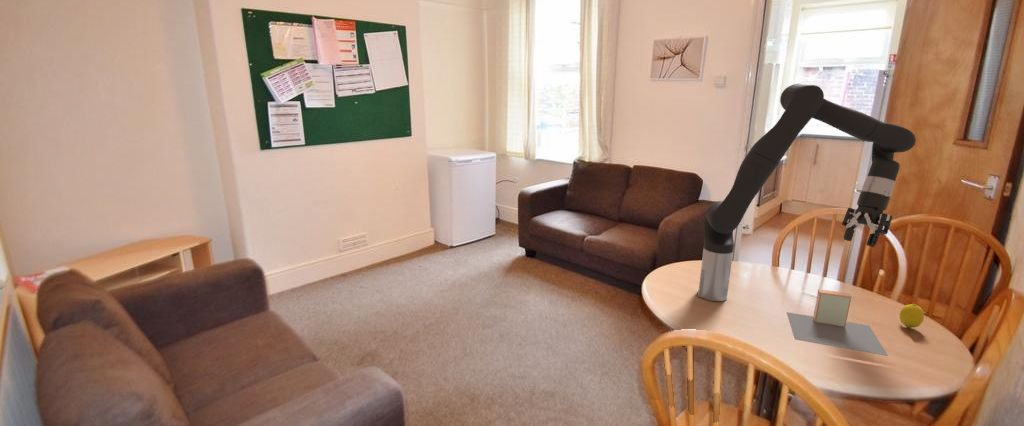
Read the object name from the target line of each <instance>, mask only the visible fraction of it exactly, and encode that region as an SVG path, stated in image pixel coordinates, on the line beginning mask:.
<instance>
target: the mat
mask: <svg viewBox="0 0 1024 426" xmlns="http://www.w3.org/2000/svg"><path fill="white" fill-rule="evenodd" d="M786 314H787V319H788V321H789V325H790V328H791V331H792V334H793V335H792V336H793V337H794V340H797V341H803V342H807V343H813V344H818V345H824V346H831V347H836V348H840V349H841V348H842V349H846V350H853V351H858V352H864V353H871V354H877V355H880V356H886V357H888V356H889V355H888V353H887V352H886V350H885V349H884V347H883V345H882V343H881V342H880V340H879V339H878V337H877V335H876V334H875V332H874V330H873V329H872V328H871V326H870V325H868V324H865V323H864V324H863V323H857V322H856V323H855V322H849V321H846V326H845V327H840V326H834V325H828V324H822V323H816V322H814V320H813V316H812V315H806V314H800V313H793V312H788V311H786Z"/></svg>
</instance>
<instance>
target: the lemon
mask: <svg viewBox="0 0 1024 426" xmlns="http://www.w3.org/2000/svg"><path fill="white" fill-rule="evenodd" d="M924 319H925V314H924V310H923V309H922V307H920V306H919V305H917V304H916V303H911V304H910V303H908V304H906V305H904V306H903V307H902V308H901V309H900V312H899V321H900V322H901V324H903V325H904V326H905V327H907V329H912V328H917V327H919V326H921V324H923V322H924Z"/></svg>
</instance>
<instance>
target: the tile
mask: <svg viewBox="0 0 1024 426" xmlns="http://www.w3.org/2000/svg"><path fill="white" fill-rule="evenodd" d="M851 301H852V295H851V294H850V293H848V292H841V291H835V290H828V289H819V288H818V290H817V295H816V300H815V305H814V310H813V320H814V322H816V323H822V324H828V325H834V326H840V327H845V326H846V322H848V315H849V311H850V306H851Z"/></svg>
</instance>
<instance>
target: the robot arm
mask: <svg viewBox="0 0 1024 426" xmlns="http://www.w3.org/2000/svg"><path fill="white" fill-rule="evenodd" d="M779 102H780V105H781V107H782V108H783V110H784V111H783V113H782V115H781V116H780V118H779V119H778V120H777V121H776V124H775V125H773V126H772V128H770V129H769V130H768V131H767V132H766V133H765V134H764V135H763V136H761V137H760V138H759V139H758V140H757V141H756V142H755V143H754V144H753V145H752V147H751V148H750V149H749V151H747V153H746V156H745V157H744V158H743V160H742V162H741V164H740V165H739V168H738V170H737V173H736V176H735V179H734V182H733V185H732V187H731V189H730V190H729V193H728V194H727V195H726V197H725V198H724V199H723V200H718V201H715V202H712V203H711V204H710V205H709V206H708V207H707V209H706V212H705V218H704V229H703V249H702V250H703V251H702V260H701V267H700V276H699V283H698V284H699V285H698V293H697V297H698V298H702V299H704V300H707V301H712V302H723V301H724V302H725V301H726V300H727V298H728V292H729V285H730V278H731V273H732V271H731V270H732V264H733V256H734V255H733V254H734V247H735V243H734V230H736V229H737V228H738V227H739V226H740V223H741V222H742V220H743V218H744V217H745V215H746V213H747V210H748V209H749V207H750V205H751V203H752V202H753V200H754V199H755V198H756V196H757V194H759V192H760V191H761V189H762V188H763V186H764V185H765V184H766V182H767V180H769V178H770V177H771V175H772V174H773V172H775V169H776V168H777V166H778V165H780V162H781V160H782V159H783V158H784V156H785V154H786V153H787V152H788V150H789V149H790V147H791V146H792V145H793V143H794V141H795V140H796V138H797V137H798V135H799V134H800V133H801V131H803V129H805V127H806V126H807V124H808V123H809V122H810V120H812V119H814V120H817V121H820V122H821V123H824V124H826V125H828V126H830V127H833V128H834V129H836V130H839V131H841V132H843V133H845V134H846V135H849V136H852V137H854V138H856V139H858V140H860V141H863V142H868V143H872V147H871V165H870V167H869V169H868V173H867V176H866V178H865V181H864V182H863V184H862V187H861V189H860V194H859V196H858V199H857V203H856V205H857V208H856V209H855V208H852V207H848V208H847V210H846V212H845V215H844V218H843V219H842V223H841V225H842V226H844V227H845V229H846V230H845V231H844V235H843V240H844V241H847V242H851V241H852V240H853V238H854V234H855V231H856V229H857V228H858V227H861V226H862V225H864V226H867V227H869V230H870V233H869V235H868V239H867V241H866V246H867V247H871V248H874V247H875V246H876V245H877V242H878V240H879V237H880V236H882V235H888V233H889V229H890V227H891V222H892V219H893V215H891V214H888V213H884V212H885V211H886V210H887V209H888V205H889V202H890V200H891V197H892V195H893V192H894V188H895V183H896V181H897V177H898V174H899V171H900V167H901V166H900V165H901V164H900V163H899V162H898V161H897V160H894V156H895V153H904V152H908V151H910V150H912V149H913V148H914V146H915V145H916V142H917V141H916V140H917V139H916V136H915V133H913V131H911V130H910V129H909V128H906V127H904V126H901V125H897V124H893V123H889V122H885V121H882V120H879V119H877V118H875V117H873V116H871V115H868V114H866V113H863V112H861V111H858V110H856V109H853V108H850V107H847V106H843V105H840V104H838V103H835V102H833V101H830V100H828V99H826V98H825V94H824V91H823V89H822V88H821V87H820V86H819V85H817V84H812V83H803V82H802V83H800V82H798V83H794V84H791V85H788V86H786V87H785V89H784V90H783V91H782V92H781V95H780V99H779Z"/></svg>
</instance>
